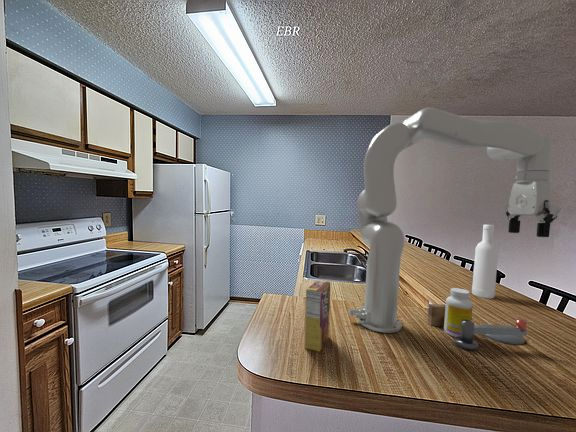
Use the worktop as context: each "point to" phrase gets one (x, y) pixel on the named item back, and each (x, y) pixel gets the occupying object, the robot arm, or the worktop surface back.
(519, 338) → the coaster
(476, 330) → the lever
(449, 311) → the supplement bottle
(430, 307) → the wooden plank block
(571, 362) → the worktop surface
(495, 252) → the bottle
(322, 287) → the candy box
